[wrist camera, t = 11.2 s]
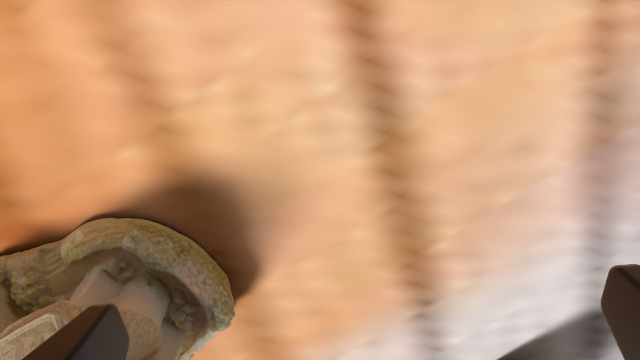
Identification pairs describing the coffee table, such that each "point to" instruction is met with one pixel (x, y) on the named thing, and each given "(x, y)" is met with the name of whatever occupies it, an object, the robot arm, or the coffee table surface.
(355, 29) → the coffee table surface
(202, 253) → the ceramic model
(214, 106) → the coffee table surface
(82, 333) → the robot arm
